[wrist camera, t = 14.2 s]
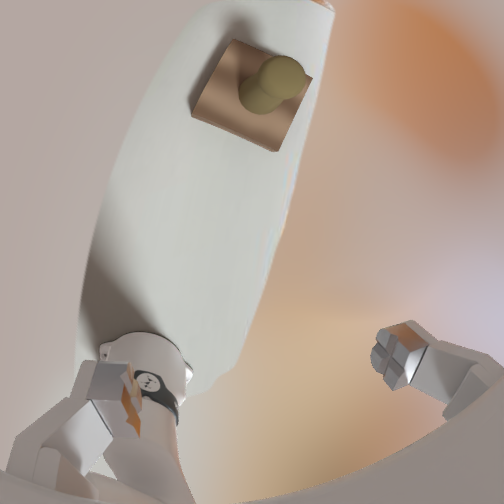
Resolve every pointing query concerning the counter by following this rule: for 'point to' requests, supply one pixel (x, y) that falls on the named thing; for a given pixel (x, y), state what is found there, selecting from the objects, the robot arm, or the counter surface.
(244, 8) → the counter surface
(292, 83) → the olive pawn
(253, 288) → the counter surface
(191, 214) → the counter surface
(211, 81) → the walnut base
